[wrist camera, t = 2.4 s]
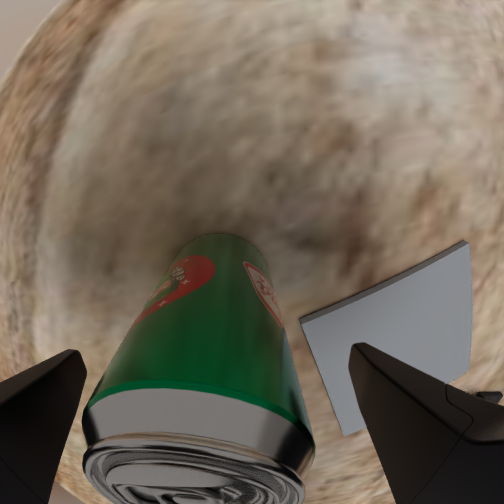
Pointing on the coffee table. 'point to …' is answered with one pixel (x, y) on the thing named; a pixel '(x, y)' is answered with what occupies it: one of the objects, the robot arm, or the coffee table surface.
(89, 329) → the coffee table surface
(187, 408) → the soda can
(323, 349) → the slate mat
